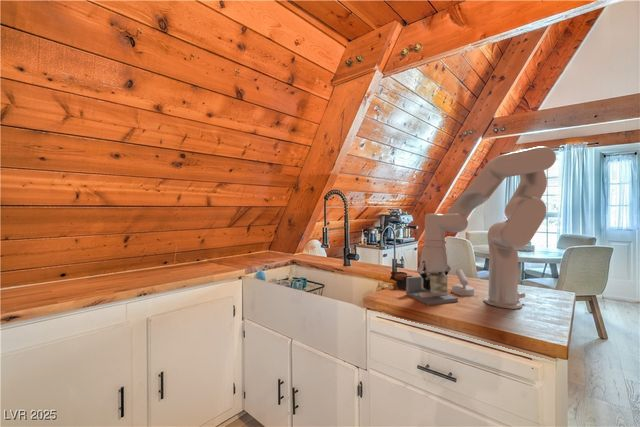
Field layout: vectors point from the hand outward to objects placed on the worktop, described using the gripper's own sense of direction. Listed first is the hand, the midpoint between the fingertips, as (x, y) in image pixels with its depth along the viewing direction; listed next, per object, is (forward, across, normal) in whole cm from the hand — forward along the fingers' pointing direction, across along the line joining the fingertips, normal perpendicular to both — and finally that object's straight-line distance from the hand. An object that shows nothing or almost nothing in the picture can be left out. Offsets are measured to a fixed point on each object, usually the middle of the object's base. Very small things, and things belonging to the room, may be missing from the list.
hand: (433, 287), depth 117 cm
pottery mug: (+5, +2, -20) cm, 20 cm away
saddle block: (+1, 0, 0) cm, 1 cm away
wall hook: (+5, -19, -4) cm, 20 cm away
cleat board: (+5, 0, -2) cm, 5 cm away
